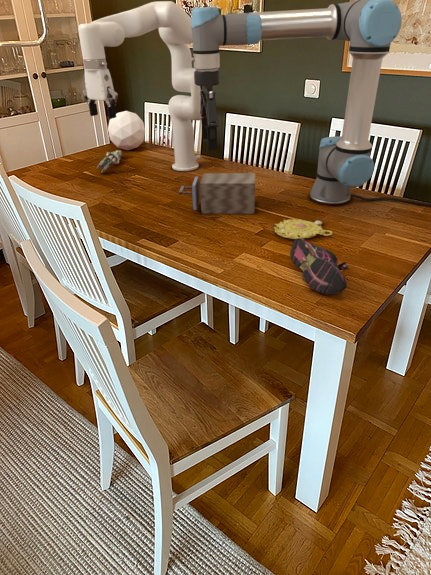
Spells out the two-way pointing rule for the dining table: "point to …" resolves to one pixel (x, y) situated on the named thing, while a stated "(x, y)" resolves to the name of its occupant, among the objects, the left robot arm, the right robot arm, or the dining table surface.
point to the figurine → (110, 160)
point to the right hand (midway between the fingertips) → (209, 144)
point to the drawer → (194, 192)
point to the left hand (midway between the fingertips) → (103, 116)
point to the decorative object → (300, 229)
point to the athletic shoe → (318, 267)
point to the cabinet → (228, 193)
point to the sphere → (126, 130)
